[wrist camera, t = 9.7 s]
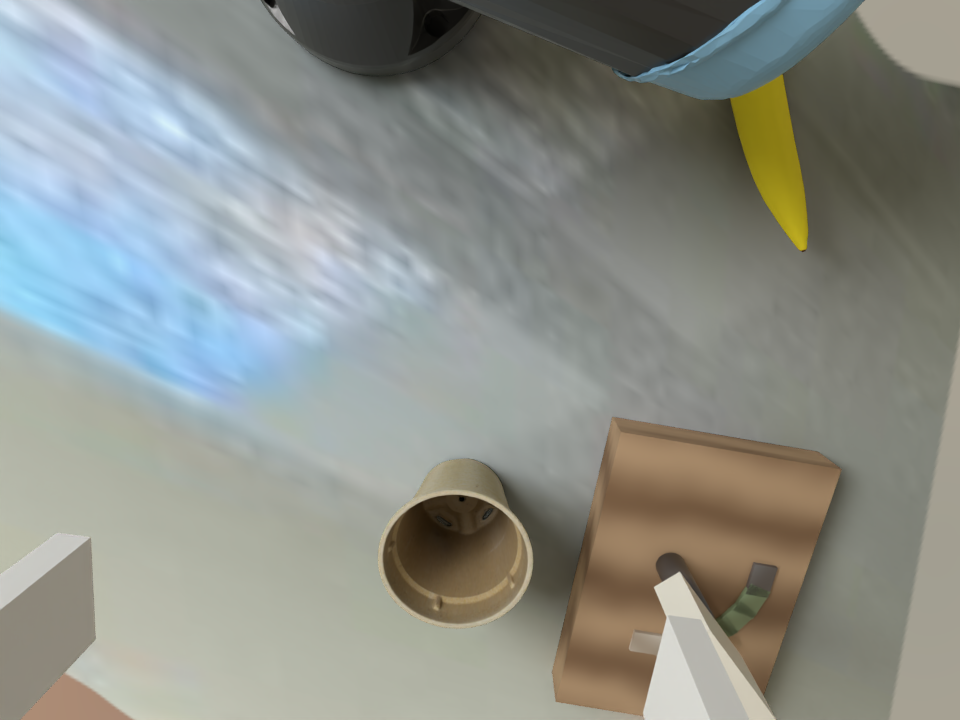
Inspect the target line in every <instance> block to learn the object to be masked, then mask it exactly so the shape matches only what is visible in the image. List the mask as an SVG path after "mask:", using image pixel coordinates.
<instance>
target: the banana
mask: <svg viewBox="0 0 960 720" xmlns="http://www.w3.org/2000/svg"><path fill="white" fill-rule="evenodd" d="M730 101H731V106H732V110H733V114H734V118H735V122H736V126H737V130H738V134H739V137H740V141H741V144H742V147H743V151H744V154H745V157H746V160H747V163H748V166H749V168H750V171H751V174H752V177H753V179H754V181H755V183H756V185H757V188H758V190H759V192H760V194H761V196H762V198H763V200H764V201H765V203H766V205H767V206H768V208H769V209H770V211H771V212H772V214H773V215H774V217H775V218H776V220H777V222H778V223H779V224H780V226H781V227H782V228H783V230H784V231H785V233H786V234H787V235H788V237H789V238H790V239H791V241H792V242H793V243H794V244H795V246H796V247H797V248H798V249H799V250H800V251H802V252H804V251H805V250H806V249H807V239H808V220H807V209H806V200H805V191H804V185H803V179H802V174H801V168H800V163H799V159H798V154H797V149H796V144H795V139H794V134H793V129H792V124H791V118H790V113H789V108H788V102H787V96H786V91H785V85H784V79H783V74H782V75H780V76H779V77H777V78H776V79H774V80H772V81H771V82H769V83H767V84H765V85H764V86H762V87H760V88H758V89H755V90H753V91H751V92H749V93H746V94H744V95H741V96H738V97H734V98H730Z"/></svg>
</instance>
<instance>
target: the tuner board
mask: <svg viewBox="0 0 960 720" xmlns="http://www.w3.org/2000/svg"><path fill="white" fill-rule="evenodd" d="M841 470H842V469H841V468H839V467H838V466H836V465H835V464H834V463H832V462H831V461H830V460H828V459H827V458H826V457H824V456H823V455H821V454H820V453H819V452H816V451H810V450H804V449H798V448H793V447H787V446H781V445H775V444H769V443H763V442H757V441H751V440H745V439H739V438H734V437H728V436H722V435H716V434H710V433H704V432H698V431H692V430H686V429H680V428H675V427H669V426H663V425H657V424H651V423H645V422H639V421H633V420H627V419H622V418H616V417H612V421H611V425H610V429H609V433H608V438H607V442H606V446H605V450H604V455H603V459H602V463H601V467H600V471H599V476H598V480H597V484H596V488H595V493H594V497H593V501H592V505H591V510H590V514H589V518H588V522H587V526H586V531H585V535H584V539H583V543H582V548H581V552H580V556H579V560H578V565H577V569H576V573H575V577H574V581H573V586H572V590H571V594H570V598H569V603H568V607H567V611H566V615H565V620H564V624H563V628H562V632H561V637H560V641H559V645H558V649H557V653H556V658H555V662H554V666H553V670H552V674H553V682H554V691H555V699H556V702H561V703H567V704H573V705H579V706H585V707H591V708H597V709H603V710H610V711H616V712H622V713H628V714H634V715H640V716H644V715H643V711H644V707H645V703H646V699H647V695H648V691H649V687H650V683H651V679H652V675H653V671H654V667H655V663H656V659H657V655H658V651H659V647H660V643H661V639H662V635H663V631H664V627H665V623H666V619H667V617H666V615H665V612H664V610H663V608H662V605H661V603H660V601H659V598H658V596H657V593H656V591H655V589H654V587H655V586H656V585H658V584H660V583H661V582H662V581H661V579H660V577H659V575H658V572H657V570H656V562H657V560H658V558H659V557H660V556H661V555H663V554H665V553H676V554H678V555H680V556H681V557H682V558H683V560H684V562H685V563H686V565H687V567H688V569H689V571H690V573H691V575H692V576H693V578H694V580H695V582H696V584H697V586H698V587H699V589H700V591H701V593H702V595H703V597H704V599H705V600H706V602H707V604H708V606H709V608H710V610H711V611H712V613H713V615H714V619H715V620H716V621H717V623H718V624H719V626H720V627H721V628H722V630H723V631H724V632H725V634H726V635H727V636H728V638H729V639H730V641H731V642H732V644H733V645H734V646H735V648H736V649H737V650H738V652H739V653H740V654H741V656H742V658H743V660H744V662H745V663H746V665H747V667H748V669H749V671H750V672H751V674H752V676H753V678H754V680H755V682H756V683H757V685H758V687H759V689H760V691H761V692H762V694H763V696H764V693H765V690H766V687H767V684H768V681H769V678H770V675H771V673H772V670H773V667H774V664H775V661H776V658H777V655H778V652H779V649H780V646H781V644H782V641H783V638H784V635H785V632H786V629H787V626H788V623H789V620H790V618H791V615H792V612H793V609H794V606H795V603H796V600H797V597H798V594H799V592H800V589H801V586H802V583H803V580H804V577H805V574H806V571H807V568H808V566H809V563H810V560H811V557H812V554H813V551H814V548H815V545H816V542H817V540H818V537H819V534H820V531H821V528H822V525H823V522H824V519H825V516H826V514H827V511H828V508H829V505H830V502H831V499H832V496H833V493H834V490H835V488H836V485H837V482H838V479H839V476H840V473H841Z"/></svg>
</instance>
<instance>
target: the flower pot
mask: <svg viewBox="0 0 960 720" xmlns="http://www.w3.org/2000/svg"><path fill="white" fill-rule="evenodd" d="M459 497H464V498H465V500H464V501H460V500H459ZM490 508H492V509H493V510H492V512H491V513H490V515H489V516H488V517H487V518H486V519H482V517H483V516H484V515H485V511H488V510H489V509H490ZM437 516H440V517H441V518H443V519H444V520H446V521H447V522H449V523H451V526H448V525H444V524H442V523H441V522H439V521H438V519H437ZM378 568H379V573H380V576H381V578H382V581H383V584H384V586H385V588H386V590H387V592H388V593H389V595H390V596H391V597H392V599H393V600H394V601H395V602H396V603H397V604H398V605H399V606H400V607H401V608H402V609H404V610H405V611H406V612H408V613H409V614H410V615H412V616H414V617H416V618H418V619H419V620H422V621H424V622H426V623H429V624H432V625H436V626H440V627H445V628H460V629H461V628H470V627H471V628H472V627H476V626H481V625H484V624H487V623H490V622H492V621H494V620H497V619H498V618H500V617H502V616H503V615H504V614H506V613H507V612H508V611H510V610H511V609H512V608H513V607H514V606H515V605H516V604H517V603H518V602H519V601H520V599H521V598H522V596H523V595H524V593H525V591H526V589H527V587H528V585H529V583H530V580H531V576H532V570H533V551H532V545H531V542H530V539H529V536H528V534H527V532H526V530H525V528H524V526H523V524H522V523H521V522H520V520H519V519H518V518H517V516H516V515H515V514H514V513H513V512H512V511H511V510H510V509H509V506H508V503H507V500H506V497H505V494H504V490H503V487H502V484H501V482H500V480H499V478H498V477H497V476H496V474H495V473H494V472H493V471H492V470H491V469H490V468H489V467H487V466H486V465H484V464H482V463H480V462H478V461H475V460H472V459H456V460H449V461H445V462H443V463H441V464H439V465H437V466H436V467H434V468H433V469H432V470H431V471H430V472H429V473H428V475H427V476H426V477H425V479H424V481H423V483H422V485H421V487H420V489H419V490H418V492H417V493H416V495H415V497H414V498H413V500H411V501H410V502H408V503H407V504H405V505H404V506H403V507H402V508H401V509H399V510H398V511H397V512H396V513H395V514H394V516H393V517H392V518H391V519H390V521H389V523H388V524H387V526H386V528H385V530H384V532H383V534H382V537H381V540H380V543H379V550H378Z"/></svg>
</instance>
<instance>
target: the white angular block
mask: <svg viewBox="0 0 960 720" xmlns="http://www.w3.org/2000/svg"><path fill="white" fill-rule="evenodd" d="M656 570H657V572H658V575H659V577H660V579H661V581H662V582H661V583H660V584H658V585H656V586H655V587H654V589H655V591H656V593H657V596H658V598H659V601H660V603H661V605H662V608H663V610H664V612H665V615H666V617H667V615H671V616H678V617H686V618H693V619H700V620H701V621H702V623H703V625H704V627H705V629H706V631H707V633H708V635H709V637H710V639H711V641H712V643H713V645H714V647H715V649H716V651H717V653H718V656H719V658H720V660H721V662H722V664H723V666H724V668H725V670H726V672H727V674H728V676H729V678H730V680H731V682H732V684H733V686H734V688H735V691H736V693H737V695H738V697H739V699H740V701H741V703H742V705H743V707H744V709H745V711H746V713H747V715H748V717H749V719H750V720H777V719H776V718H775V716H774V714H773V712H772V710H771V709H770V707H769V705H768V703H767V701H766V700H765V698H764V696H763V694H762V692H761V691H760V689H759V687H758V685H757V683H756V682H755V680H754V678H753V676H752V674H751V672H750V671H749V669H748V667H747V665H746V663H745V662H744V660H743V658H742V656H741V654H740V653H739V652H738V650H737V649H736V648H735V646H734V645H733V644H732V642H731V641H730V639H729V638H728V636H727V635H726V634H725V632H724V631H723V630H722V628H721V627H720V626H719V624H718V623H717V621H716V620H715V619H714V615H713V613H712V611H711V610H710V608H709V606H708V604H707V602H706V600H705V599H704V597H703V595H702V593H701V591H700V589H699V587H698V586H697V584H696V582H695V580H694V578H693V576H692V575H691V573H690V571H689V569H688V567H687V565H686V563H685V562H684V560H683V558H682V557H681V556H680V555H678V554H676V553H665V554H663V555H661V556H660V557H659V558H658V560H657V562H656Z"/></svg>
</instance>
